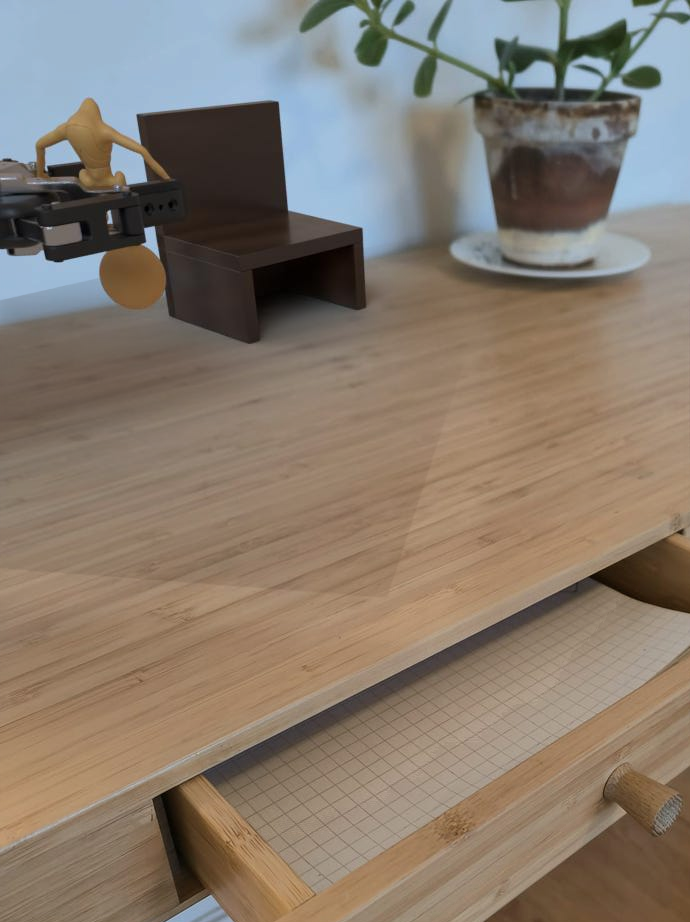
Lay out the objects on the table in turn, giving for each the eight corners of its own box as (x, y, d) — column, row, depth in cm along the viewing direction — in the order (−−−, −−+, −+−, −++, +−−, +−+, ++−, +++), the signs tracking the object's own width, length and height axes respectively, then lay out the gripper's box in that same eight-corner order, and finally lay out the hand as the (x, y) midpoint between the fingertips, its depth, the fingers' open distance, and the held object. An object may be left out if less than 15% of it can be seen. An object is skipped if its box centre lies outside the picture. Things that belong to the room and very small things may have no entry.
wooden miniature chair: (168, 315, 86) (135, 113, 76) (286, 284, 94) (270, 99, 85) (249, 343, 80) (223, 129, 71) (366, 307, 89) (357, 113, 80)
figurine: (211, 303, 63) (185, 94, 56) (179, 330, 58) (146, 105, 51) (89, 296, 63) (48, 88, 56) (46, 322, 58) (-4, 98, 51)
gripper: (-97, 171, 41) (211, 134, 52) (-232, 129, 48) (64, 104, 59) (-47, 342, 46) (228, 276, 56) (-178, 280, 53) (89, 232, 63)
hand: (143, 188), depth 58 cm, fingers closed on figurine, 7 cm apart
